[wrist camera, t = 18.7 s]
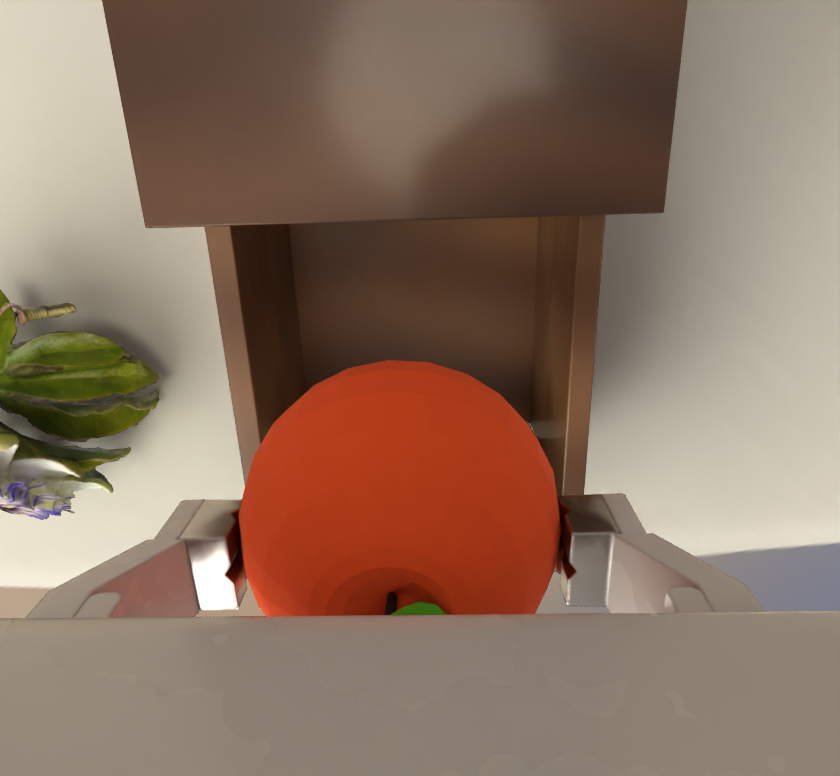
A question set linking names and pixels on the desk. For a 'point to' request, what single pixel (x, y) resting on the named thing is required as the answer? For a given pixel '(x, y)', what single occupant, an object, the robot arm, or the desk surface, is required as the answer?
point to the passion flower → (62, 409)
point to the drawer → (416, 314)
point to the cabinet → (396, 108)
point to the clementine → (399, 500)
